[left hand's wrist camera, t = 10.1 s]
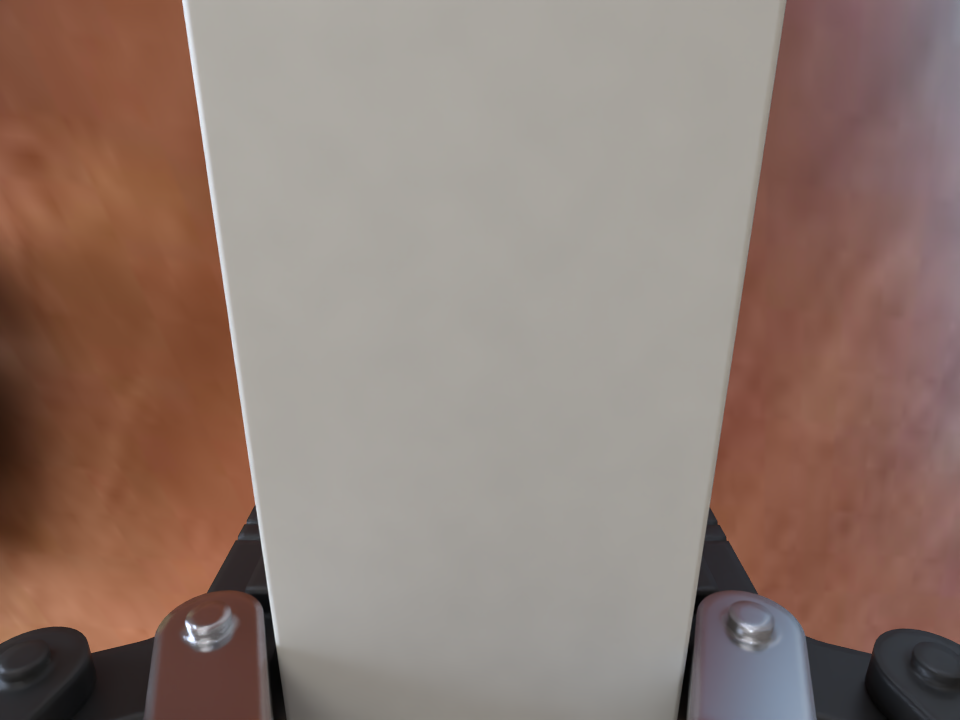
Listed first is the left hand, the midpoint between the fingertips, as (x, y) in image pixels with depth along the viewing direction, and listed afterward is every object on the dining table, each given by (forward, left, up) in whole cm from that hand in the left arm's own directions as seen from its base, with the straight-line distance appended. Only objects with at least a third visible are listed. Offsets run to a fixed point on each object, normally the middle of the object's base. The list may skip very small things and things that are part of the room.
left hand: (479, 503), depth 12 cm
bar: (+17, +4, -3) cm, 18 cm away
